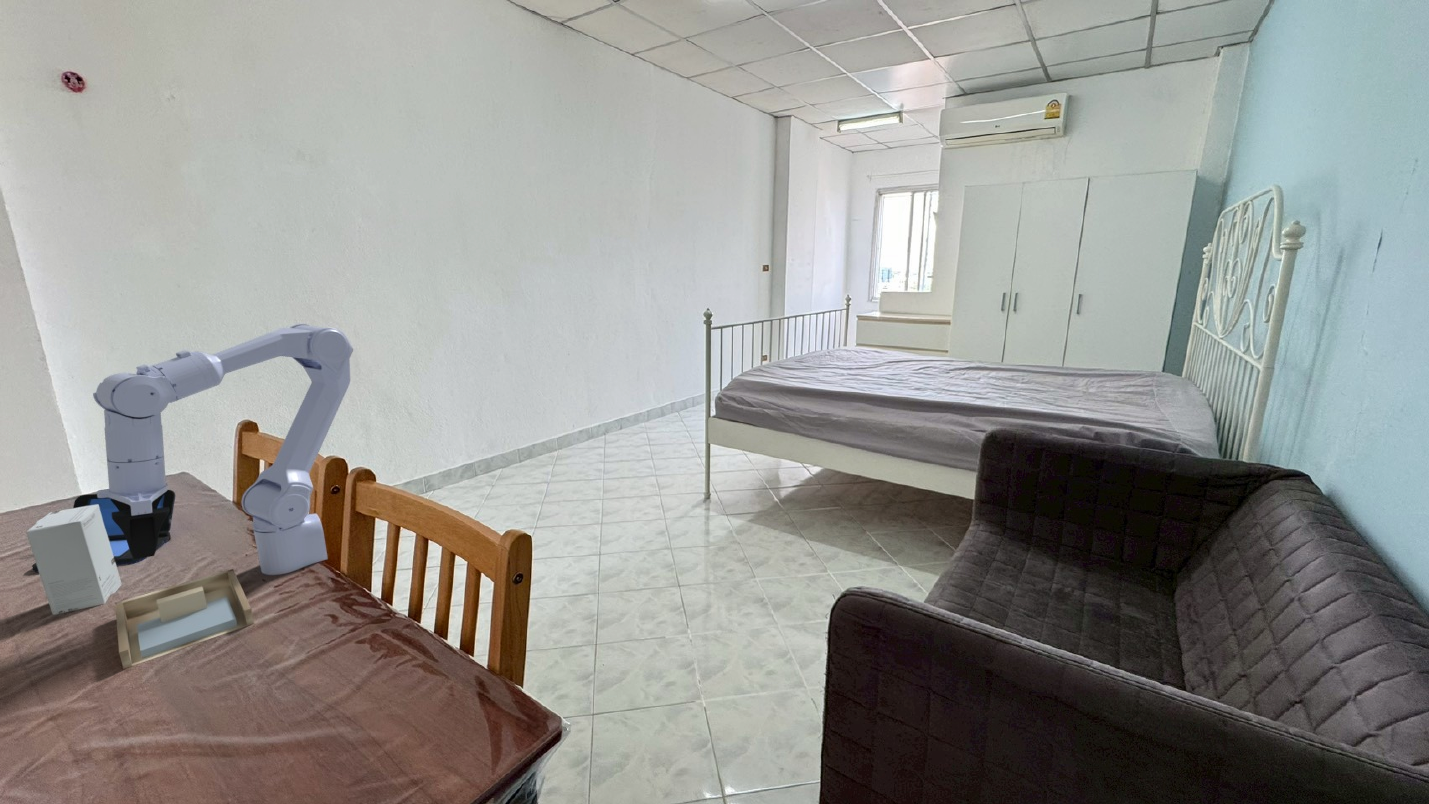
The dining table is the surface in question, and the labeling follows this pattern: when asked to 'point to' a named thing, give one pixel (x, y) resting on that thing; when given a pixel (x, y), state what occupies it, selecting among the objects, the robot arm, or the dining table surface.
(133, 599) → the birch box
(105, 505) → the handheld game console
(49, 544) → the skincare box
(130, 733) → the dining table surface
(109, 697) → the dining table surface
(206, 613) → the cover plate
